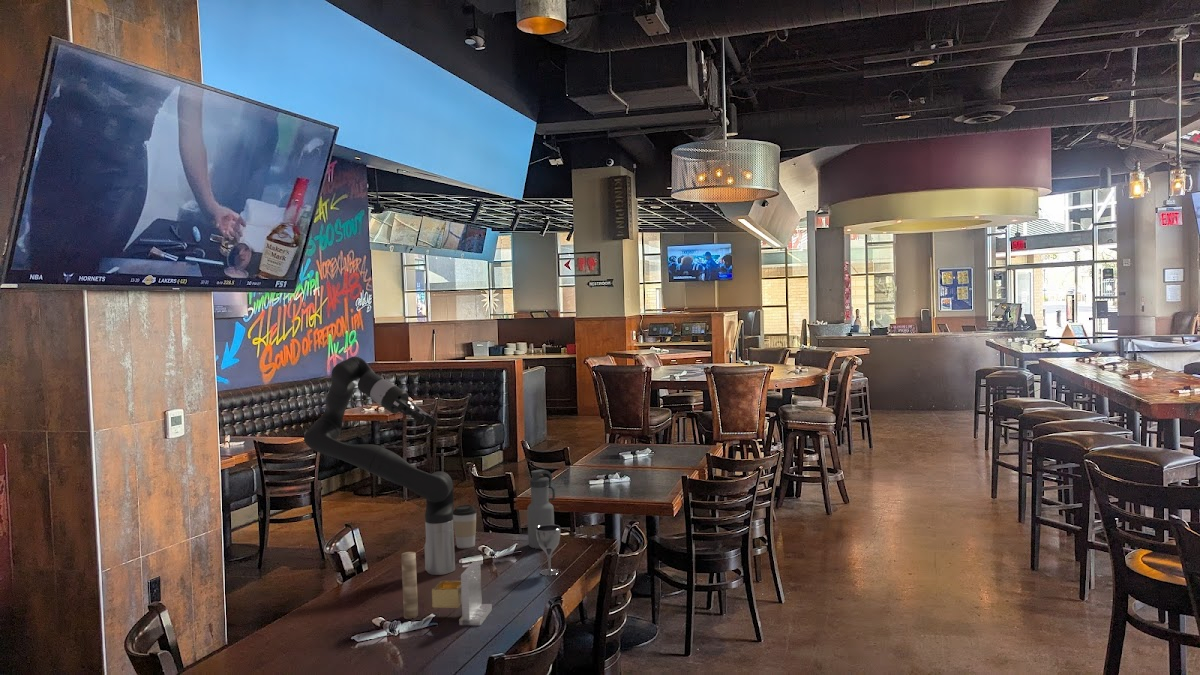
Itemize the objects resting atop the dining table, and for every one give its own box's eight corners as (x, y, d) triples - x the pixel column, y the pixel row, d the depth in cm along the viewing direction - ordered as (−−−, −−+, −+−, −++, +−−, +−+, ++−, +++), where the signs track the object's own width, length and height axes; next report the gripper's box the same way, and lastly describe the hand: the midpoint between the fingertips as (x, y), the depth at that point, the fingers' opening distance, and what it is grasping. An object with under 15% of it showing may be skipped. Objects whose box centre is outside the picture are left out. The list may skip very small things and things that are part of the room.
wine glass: (560, 576, 251) (559, 530, 251) (536, 576, 251) (534, 531, 251) (562, 568, 259) (560, 524, 259) (539, 569, 259) (537, 524, 259)
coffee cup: (448, 547, 288) (447, 507, 288) (463, 541, 296) (462, 502, 296) (468, 550, 284) (466, 509, 284) (482, 543, 292) (481, 504, 292)
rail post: (400, 617, 221) (398, 554, 220) (412, 612, 224) (409, 551, 224) (409, 620, 218) (407, 556, 218) (421, 615, 222) (418, 553, 221)
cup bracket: (430, 624, 214) (428, 574, 214) (444, 608, 226) (442, 561, 226) (480, 625, 212) (478, 575, 212) (492, 609, 224) (490, 561, 224)
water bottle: (542, 540, 294) (539, 466, 293) (561, 544, 288) (558, 469, 287) (523, 546, 286) (520, 471, 285) (542, 551, 280) (539, 474, 279)
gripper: (393, 410, 243) (432, 436, 238) (371, 402, 230) (412, 430, 225) (406, 389, 244) (445, 415, 239) (384, 381, 230) (426, 408, 225)
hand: (429, 422), depth 232 cm, fingers open, 8 cm apart
